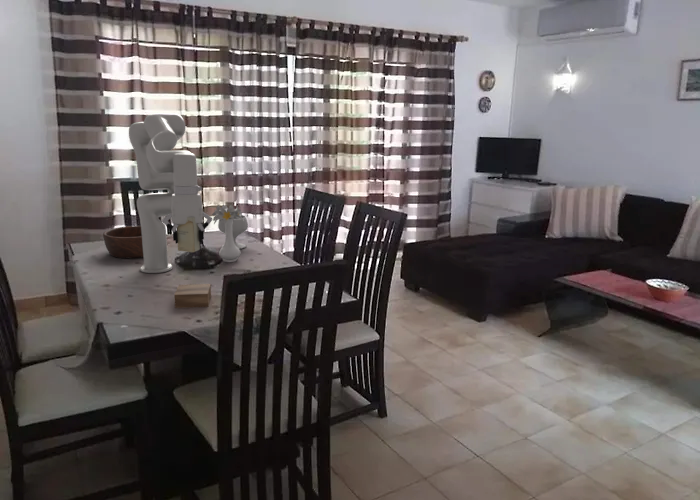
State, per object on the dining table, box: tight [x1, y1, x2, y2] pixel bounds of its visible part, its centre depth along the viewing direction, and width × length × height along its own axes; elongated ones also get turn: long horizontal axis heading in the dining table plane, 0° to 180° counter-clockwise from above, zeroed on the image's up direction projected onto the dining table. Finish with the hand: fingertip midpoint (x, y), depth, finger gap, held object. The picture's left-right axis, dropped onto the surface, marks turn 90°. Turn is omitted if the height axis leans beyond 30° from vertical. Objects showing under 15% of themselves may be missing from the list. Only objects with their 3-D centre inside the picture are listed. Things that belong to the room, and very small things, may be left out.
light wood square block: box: [173, 283, 212, 309], centre depth 193 cm, size 11×11×5 cm
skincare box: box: [177, 217, 201, 253], centre depth 188 cm, size 6×4×12 cm
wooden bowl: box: [102, 225, 143, 259], centre depth 253 cm, size 25×25×10 cm
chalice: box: [217, 214, 249, 250], centre depth 267 cm, size 14×14×15 cm
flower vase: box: [211, 204, 244, 263], centre depth 243 cm, size 13×18×25 cm
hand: (188, 241), depth 189 cm, fingers closed on skincare box, 7 cm apart
